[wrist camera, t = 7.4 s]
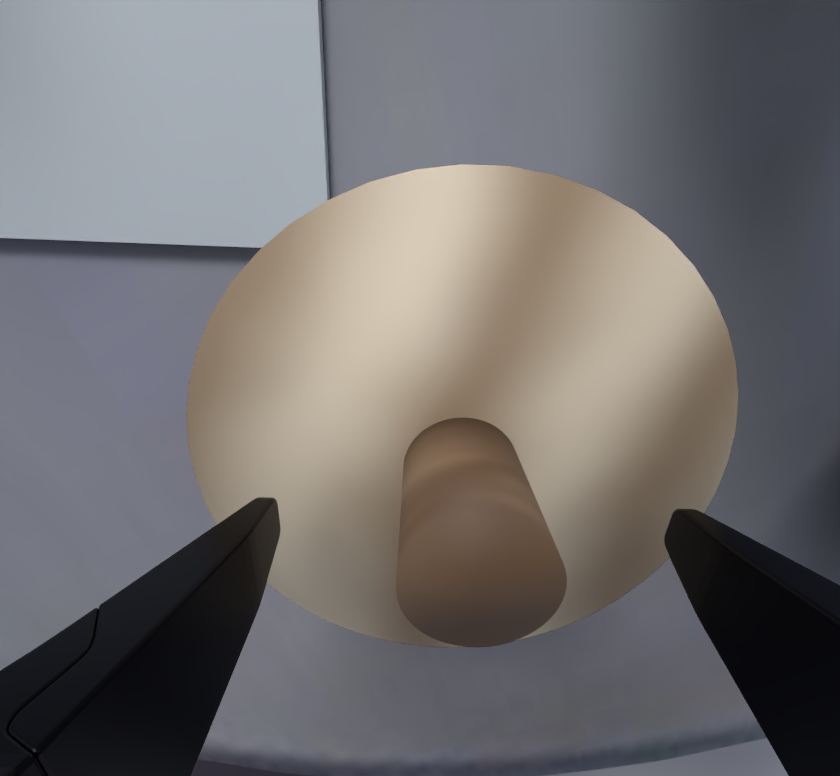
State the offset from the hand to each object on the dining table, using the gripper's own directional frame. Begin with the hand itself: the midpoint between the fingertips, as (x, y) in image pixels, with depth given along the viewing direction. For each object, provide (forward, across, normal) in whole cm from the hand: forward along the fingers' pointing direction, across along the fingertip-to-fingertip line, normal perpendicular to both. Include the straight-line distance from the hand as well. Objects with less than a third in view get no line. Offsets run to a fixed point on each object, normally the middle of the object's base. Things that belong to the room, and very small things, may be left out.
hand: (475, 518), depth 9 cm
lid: (+3, 0, 0) cm, 3 cm away
